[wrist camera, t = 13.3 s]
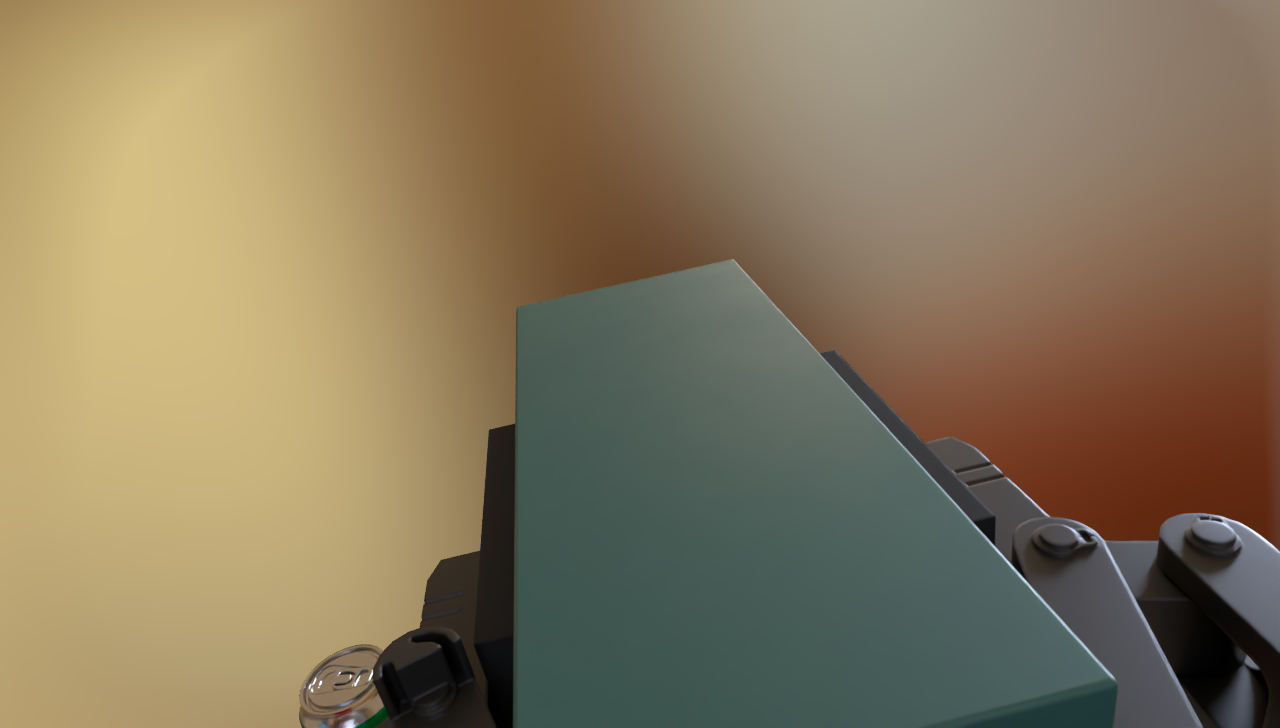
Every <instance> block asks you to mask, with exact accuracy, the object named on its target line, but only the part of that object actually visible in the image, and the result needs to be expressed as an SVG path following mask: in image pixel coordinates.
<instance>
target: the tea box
mask: <svg viewBox="0 0 1280 728" xmlns="http://www.w3.org/2000/svg"><path fill="white" fill-rule="evenodd" d="M515 412H516V413H515V420H516V422H515V526H514V642H513V728H1113V727H1114V719H1115V710H1116V702H1117V693H1118V685H1117V682H1116V680H1115V678H1114V676H1113V675H1112V674H1111V673H1110V672H1109V671H1108V670H1107V669H1106V668H1105V667H1104V665H1103V664H1102V663H1101V662H1100V661H1099V660H1098V659H1097V658H1096V657H1095V656H1094V654H1093V653H1092V652H1091V651H1090V650H1089V649H1088V648H1087V647H1086V646H1085V645H1084V643H1083V642H1082V641H1081V640H1080V639H1079V638H1078V637H1077V636H1076V635H1075V634H1074V633H1073V631H1072V630H1071V629H1070V628H1069V627H1068V626H1067V625H1066V624H1065V623H1064V622H1063V620H1062V619H1061V618H1060V617H1059V616H1058V615H1057V614H1056V613H1055V612H1054V611H1053V609H1052V608H1051V607H1050V606H1049V605H1048V604H1047V603H1046V602H1045V601H1044V600H1043V598H1042V597H1041V596H1040V595H1039V594H1038V593H1037V592H1036V591H1035V590H1034V589H1033V588H1032V586H1031V585H1030V584H1029V583H1028V582H1027V581H1026V580H1025V579H1024V578H1023V577H1022V575H1021V574H1020V573H1019V572H1018V571H1017V570H1016V569H1015V568H1014V567H1013V566H1012V564H1011V563H1010V562H1009V561H1008V560H1007V559H1006V558H1005V557H1004V556H1003V555H1002V553H1001V552H1000V551H999V550H998V549H997V548H996V547H995V546H994V545H993V544H992V542H991V541H990V540H989V539H988V538H987V537H986V536H985V535H984V534H983V533H982V532H981V530H980V529H979V528H978V527H977V526H976V525H975V524H974V523H973V522H972V521H971V519H970V518H969V517H968V516H967V515H966V514H965V513H964V512H963V511H962V510H961V508H960V507H959V506H958V505H957V504H956V503H955V502H954V501H953V500H952V499H951V497H950V496H949V495H948V494H947V493H946V492H945V491H944V490H943V489H942V488H941V486H940V485H939V484H938V483H937V482H936V481H935V480H934V479H933V478H932V477H931V476H930V474H929V473H928V472H927V471H926V470H925V469H924V468H923V467H922V466H921V465H920V463H919V462H918V461H917V460H916V459H915V458H914V457H913V456H912V455H911V454H910V452H909V451H908V450H907V449H906V448H905V447H904V446H903V445H902V444H901V443H900V441H899V440H898V439H897V438H896V437H895V436H894V435H893V434H892V433H891V432H890V431H889V429H888V428H887V427H886V426H885V425H884V424H883V423H882V422H881V421H880V420H879V418H878V417H877V416H876V415H875V414H874V413H873V412H872V411H871V410H870V409H869V407H868V406H867V405H866V404H865V403H864V402H863V401H862V400H861V399H860V398H859V396H858V395H857V394H856V393H855V392H854V391H853V390H852V389H851V388H850V387H849V385H848V384H847V383H846V382H845V381H844V380H843V379H842V378H841V377H840V376H839V375H838V373H837V372H836V371H835V370H834V369H833V368H832V367H831V366H830V365H829V364H828V362H827V361H826V360H825V359H824V358H823V357H822V356H821V355H820V354H819V353H818V352H817V350H816V349H815V348H814V347H813V346H812V345H811V344H810V343H809V342H808V341H807V339H806V338H805V337H804V336H803V335H802V334H801V333H800V332H799V331H798V329H796V327H795V326H794V325H793V324H792V323H791V322H790V321H789V320H788V319H787V317H786V316H785V315H784V314H783V313H782V312H781V311H780V310H779V309H778V308H777V306H776V305H774V303H773V302H772V301H771V300H770V299H769V298H768V297H767V295H765V293H764V292H763V291H762V290H761V289H760V288H759V287H758V286H757V285H756V283H755V282H754V281H753V280H752V279H751V278H750V277H749V276H748V275H747V274H746V272H745V271H744V270H743V269H742V268H741V267H740V266H739V265H738V264H737V263H736V262H735V260H727V261H723V262H718V263H714V264H709V265H705V266H701V267H696V268H691V269H687V270H683V271H678V272H673V273H669V274H664V275H660V276H656V277H651V278H646V279H642V280H637V281H633V282H628V283H624V284H619V285H615V286H610V287H606V288H601V289H597V290H592V291H588V292H583V293H579V294H575V295H570V296H565V297H561V298H556V299H552V300H548V301H543V302H538V303H534V304H530V305H525V306H520V307H518V308H517V310H516V411H515Z"/></svg>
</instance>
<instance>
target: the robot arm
mask: <svg viewBox="0 0 1280 728" xmlns="http://www.w3.org/2000/svg"><path fill="white" fill-rule="evenodd" d="M820 355H821V356H822V357H823V358H824V359H825V360H826V361H827V362H828V364H829V365H830V366H831V367H832V368H833V369H834V370H835V371H836V372H837V373H838V375H839V376H840V377H841V378H842V379H843V380H844V381H845V382H846V383H847V384H848V385H849V387H850V388H851V389H852V390H853V391H854V392H855V393H856V394H857V395H858V396H859V398H860V399H861V400H862V401H863V402H864V403H865V404H866V405H867V406H868V407H869V409H870V410H871V411H872V412H873V413H874V414H875V415H876V416H877V417H878V418H879V420H880V421H881V422H882V423H883V424H884V425H885V426H886V427H887V428H888V429H889V431H890V432H891V433H892V434H893V435H894V436H895V437H896V438H897V439H898V440H899V441H900V443H901V444H902V445H903V446H904V447H905V448H906V449H907V450H908V451H909V452H910V454H911V455H912V456H913V457H914V458H915V459H916V460H917V461H918V462H919V463H920V465H921V466H922V467H923V468H924V469H925V470H926V471H927V472H928V473H929V474H930V476H931V477H932V478H933V479H934V480H935V481H936V482H937V483H938V484H939V485H940V486H941V488H942V489H943V490H944V491H945V492H946V493H947V494H948V495H949V496H950V497H951V499H952V500H953V501H954V502H955V503H956V504H957V505H958V506H959V507H960V508H961V510H962V511H963V512H964V513H965V514H966V515H967V516H968V517H969V518H970V519H971V521H972V522H973V523H974V524H975V525H976V526H977V527H978V528H979V529H980V530H981V532H982V533H983V534H984V535H985V536H986V537H987V538H988V539H989V540H990V541H991V542H992V544H993V545H994V546H995V547H996V548H997V549H998V550H999V551H1000V552H1001V553H1002V555H1003V556H1004V557H1005V558H1006V559H1007V560H1008V561H1009V562H1010V563H1011V564H1012V566H1013V567H1014V568H1015V569H1016V570H1017V571H1018V572H1019V573H1020V574H1021V575H1022V577H1023V578H1024V579H1025V580H1026V581H1027V582H1028V583H1029V584H1030V585H1031V586H1032V588H1033V589H1034V590H1035V591H1036V592H1037V593H1038V594H1039V595H1040V596H1041V597H1042V598H1043V600H1044V601H1045V602H1046V603H1047V604H1048V605H1049V606H1050V607H1051V608H1052V609H1053V611H1054V612H1055V613H1056V614H1057V615H1058V616H1059V617H1060V618H1061V619H1062V620H1063V622H1064V623H1065V624H1066V625H1067V626H1068V627H1069V628H1070V629H1071V630H1072V631H1073V633H1074V634H1075V635H1076V636H1077V637H1078V638H1079V639H1080V640H1081V641H1082V642H1083V643H1084V645H1085V646H1086V647H1087V648H1088V649H1089V650H1090V651H1091V652H1092V653H1093V654H1094V656H1095V657H1096V658H1097V659H1098V660H1099V661H1100V662H1101V663H1102V664H1103V665H1104V667H1105V668H1106V669H1107V670H1108V671H1109V672H1110V673H1111V674H1112V675H1113V676H1114V678H1115V680H1116V682H1117V685H1118V693H1117V702H1116V710H1115V719H1114V727H1113V728H1280V551H1279V550H1278V549H1277V548H1275V547H1274V546H1273V545H1272V544H1270V543H1269V542H1268V541H1266V540H1265V539H1264V538H1263V537H1262V536H1260V535H1259V534H1258V533H1257V532H1255V531H1253V530H1251V529H1250V528H1248V527H1247V526H1245V525H1243V524H1241V523H1239V522H1237V521H1233V520H1231V519H1228V518H1225V517H1222V516H1216V515H1210V514H1203V513H1191V514H1181V515H1178V516H1175V517H1172V518H1169V519H1168V520H1167V521H1166V522H1165V523H1164V524H1163V525H1162V526H1161V528H1160V535H1159V541H1106V540H1103V539H1102V538H1101V537H1100V536H1099V534H1098V533H1097V532H1096V531H1094V530H1092V529H1091V528H1089V527H1087V526H1086V525H1084V524H1082V523H1080V522H1076V521H1073V520H1069V519H1066V518H1058V517H1050V516H1049V515H1048V514H1047V513H1045V512H1044V511H1043V510H1042V509H1041V508H1040V507H1039V506H1038V505H1037V504H1036V503H1035V502H1034V501H1033V500H1031V499H1030V498H1029V497H1028V496H1027V495H1026V494H1025V493H1024V492H1023V491H1022V490H1021V489H1020V488H1018V487H1017V486H1016V485H1015V484H1014V483H1013V482H1012V481H1011V480H1010V479H1009V478H1008V477H1004V474H1003V473H1002V472H1001V471H1000V470H999V469H998V468H997V467H995V465H992V464H991V461H989V460H988V459H987V458H986V457H985V456H984V455H983V454H982V453H981V452H980V451H979V450H978V449H976V448H975V447H974V446H971V445H969V444H967V443H965V442H962V441H960V440H958V439H956V438H953V437H951V436H950V437H946V438H942V439H938V440H934V441H930V442H925V443H924V442H923V441H922V440H921V438H920V437H918V435H916V433H915V432H914V431H913V430H912V429H911V428H910V427H909V426H908V425H907V424H906V423H905V422H904V421H903V420H902V419H901V418H900V417H899V416H898V415H897V414H896V413H895V412H894V411H893V410H892V409H891V407H890V406H888V405H887V403H886V402H885V401H884V400H883V399H882V398H881V397H880V396H879V395H878V394H877V393H876V392H875V391H874V390H873V389H872V388H871V387H870V386H869V385H868V384H867V383H866V382H865V381H864V380H863V379H862V377H860V376H859V374H858V373H857V372H855V370H854V369H853V368H852V367H851V366H850V365H849V364H848V363H847V362H846V361H845V360H844V359H843V358H842V357H841V356H840V355H839V354H838V353H837V352H836V351H835V350H833V351H829V352H824V353H820ZM514 526H515V424H512V425H508V426H503V427H499V428H495V429H490V430H489V437H488V452H487V465H486V479H485V493H484V506H483V520H482V534H481V548H480V551H478V552H473V553H469V554H464V555H460V556H456V557H452V558H448V559H443V560H441V561H440V562H439V564H438V565H437V567H436V568H435V570H434V572H433V573H432V574H431V576H430V578H429V579H428V580H427V586H426V592H425V599H424V601H425V604H424V605H423V611H422V621H421V623H420V628H419V629H416V630H413V631H410V632H407V633H406V634H404V635H403V636H401V637H399V638H398V639H396V640H395V641H393V642H392V643H391V644H390V645H389V646H388V647H387V648H386V649H385V650H384V651H383V652H382V653H381V654H380V656H379V658H378V660H377V662H376V663H375V665H374V667H373V683H374V685H375V687H376V689H377V692H378V694H379V696H380V698H381V700H382V703H383V705H384V707H385V709H386V711H387V714H388V717H387V718H386V719H385V720H384V721H382V722H381V723H380V724H378V725H377V726H375V727H373V728H513V642H514Z"/></svg>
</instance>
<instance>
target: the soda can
mask: <svg viewBox="0 0 1280 728" xmlns="http://www.w3.org/2000/svg"><path fill="white" fill-rule="evenodd" d="M382 652H383V651H382V649H380V648H378V647H376V646H373V645H355V646H351V647H348V648H345V649H342V650H340V651H338V652H336V653H334V654H332V655H330V656H329V657H327V658H326V659H325V660H323V661H322V662H321V663H319V664H318V665H317V666H316V667H315V668H314V669H313V670H312V671H311V672H310V673H309V675H308V676H307V678H306V679H305V680H304V682H303V684H302V687H301V690H300V695H299V698H300V704H301V707H300V712H299V719H300V723H301V726H302V728H373V727H375V726H377V725H378V724H380V723H381V722H382V721H384V720H385V719H386V718H387V717H388V714H387V711H386V709H385V707H384V705H383V703H382V700H381V698H380V696H379V694H378V692H377V689H376V687H375V685H374V683H373V667H374V665H375V663H376V662H377V660H378V658H379V656H380V654H381V653H382Z"/></svg>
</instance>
